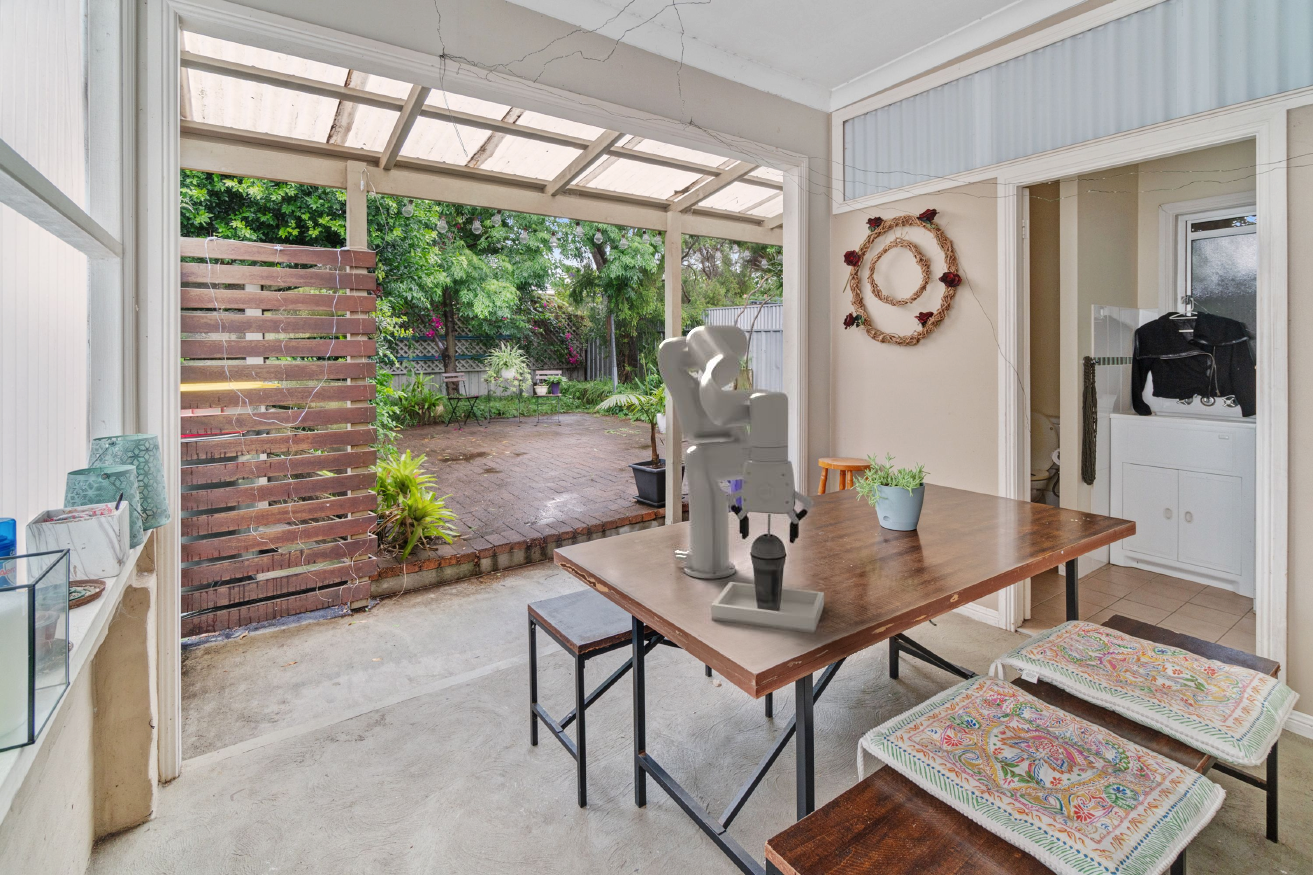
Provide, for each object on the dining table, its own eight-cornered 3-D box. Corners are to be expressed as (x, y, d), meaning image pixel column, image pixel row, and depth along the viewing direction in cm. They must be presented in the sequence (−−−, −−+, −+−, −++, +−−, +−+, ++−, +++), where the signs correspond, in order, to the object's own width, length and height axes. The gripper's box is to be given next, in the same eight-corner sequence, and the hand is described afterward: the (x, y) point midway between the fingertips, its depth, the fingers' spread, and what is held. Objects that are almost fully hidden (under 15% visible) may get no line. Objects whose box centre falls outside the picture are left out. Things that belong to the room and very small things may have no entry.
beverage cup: (782, 601, 131) (782, 507, 129) (790, 615, 124) (790, 516, 122) (747, 602, 131) (746, 509, 129) (754, 616, 124) (753, 518, 121)
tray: (711, 619, 125) (711, 604, 124) (730, 594, 138) (729, 581, 137) (814, 633, 117) (814, 617, 117) (823, 606, 130) (823, 592, 130)
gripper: (721, 455, 123) (721, 540, 125) (810, 459, 117) (810, 548, 119) (731, 450, 130) (731, 531, 132) (816, 453, 124) (815, 538, 126)
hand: (768, 539), depth 126 cm, fingers open, 9 cm apart
